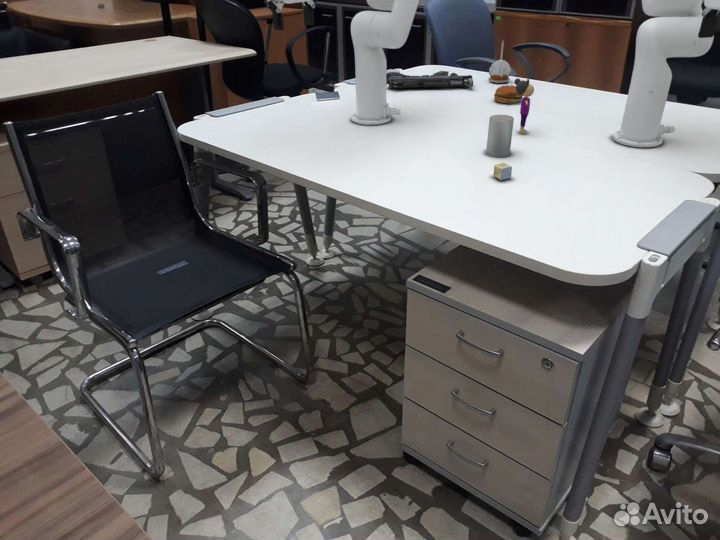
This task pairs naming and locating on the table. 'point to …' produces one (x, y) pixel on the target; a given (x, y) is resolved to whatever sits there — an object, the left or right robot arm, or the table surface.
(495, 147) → the can
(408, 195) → the table surface
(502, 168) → the alphabet block
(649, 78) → the right robot arm
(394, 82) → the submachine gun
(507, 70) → the candy apple
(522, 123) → the toy
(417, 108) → the table surface
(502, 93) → the burger
